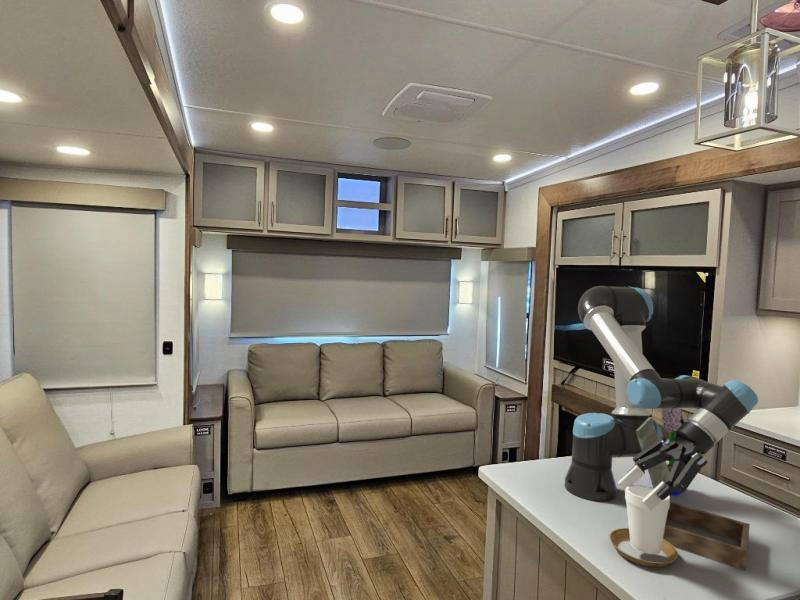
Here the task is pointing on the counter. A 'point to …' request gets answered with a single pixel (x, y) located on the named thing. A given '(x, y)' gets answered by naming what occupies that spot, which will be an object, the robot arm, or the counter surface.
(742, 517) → the counter surface
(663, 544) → the plant saucer
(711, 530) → the cold frame
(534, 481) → the counter surface
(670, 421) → the hyacinth
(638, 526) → the foam cup
